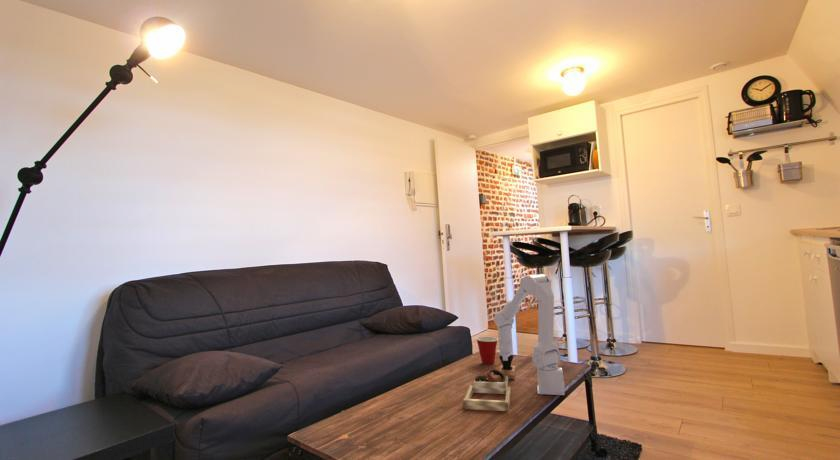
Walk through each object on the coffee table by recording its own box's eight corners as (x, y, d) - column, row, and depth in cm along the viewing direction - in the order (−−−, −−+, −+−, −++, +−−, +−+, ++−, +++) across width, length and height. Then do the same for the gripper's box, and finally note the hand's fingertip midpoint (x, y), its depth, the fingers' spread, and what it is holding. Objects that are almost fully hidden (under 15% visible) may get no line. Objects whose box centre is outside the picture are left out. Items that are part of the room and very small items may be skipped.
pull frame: (515, 374, 168) (514, 364, 168) (513, 394, 146) (512, 383, 146) (481, 373, 172) (480, 364, 172) (473, 392, 150) (473, 382, 150)
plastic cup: (504, 363, 185) (503, 337, 186) (487, 367, 180) (485, 341, 181) (489, 358, 195) (488, 334, 195) (472, 362, 189) (471, 337, 190)
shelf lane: (510, 393, 147) (510, 385, 148) (508, 411, 132) (508, 402, 132) (470, 391, 152) (469, 383, 152) (463, 408, 136) (463, 400, 136)
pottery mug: (492, 383, 160) (500, 367, 158) (503, 401, 152) (512, 384, 150) (467, 382, 155) (475, 365, 153) (477, 399, 147) (486, 382, 145)
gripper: (497, 336, 175) (499, 367, 174) (494, 344, 161) (496, 378, 160) (513, 336, 173) (515, 367, 172) (511, 345, 159) (514, 378, 158)
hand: (507, 373), depth 166 cm, fingers closed
